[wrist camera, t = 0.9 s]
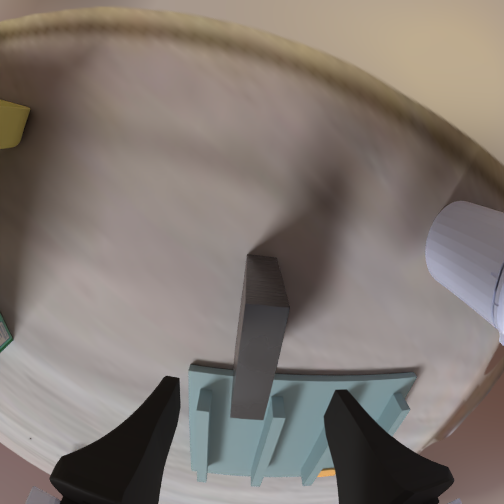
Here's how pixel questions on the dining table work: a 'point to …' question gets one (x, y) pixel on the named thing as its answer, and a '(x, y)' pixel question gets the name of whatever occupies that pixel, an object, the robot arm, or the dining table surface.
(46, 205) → the dining table surface
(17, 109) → the plastic component
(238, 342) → the panel
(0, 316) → the milk carton
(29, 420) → the dining table surface
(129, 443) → the robot arm
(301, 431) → the slot rack
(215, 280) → the dining table surface
